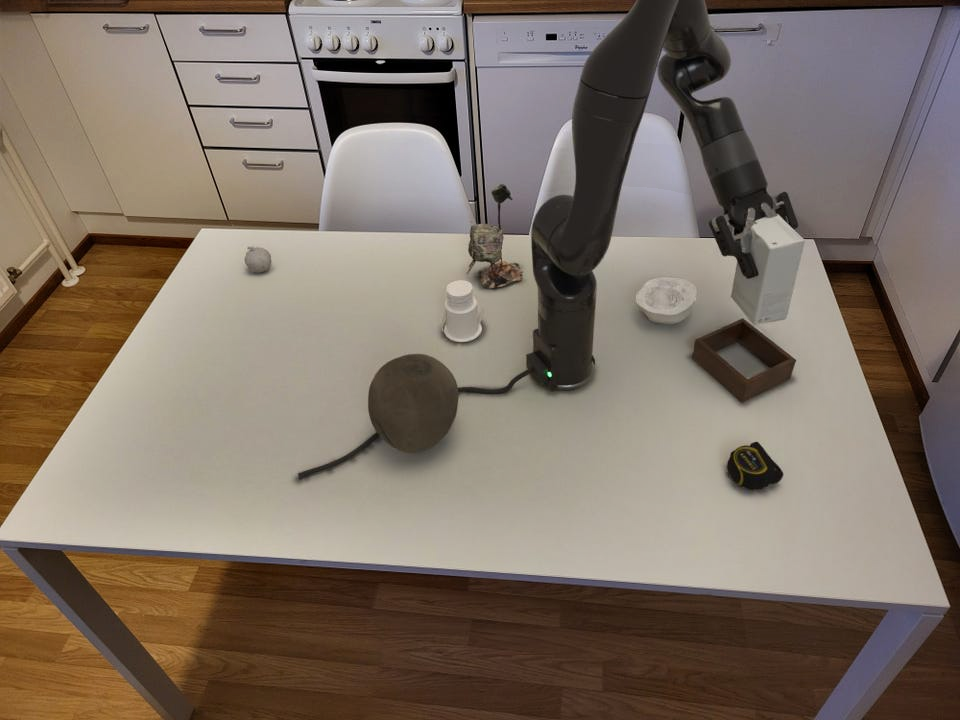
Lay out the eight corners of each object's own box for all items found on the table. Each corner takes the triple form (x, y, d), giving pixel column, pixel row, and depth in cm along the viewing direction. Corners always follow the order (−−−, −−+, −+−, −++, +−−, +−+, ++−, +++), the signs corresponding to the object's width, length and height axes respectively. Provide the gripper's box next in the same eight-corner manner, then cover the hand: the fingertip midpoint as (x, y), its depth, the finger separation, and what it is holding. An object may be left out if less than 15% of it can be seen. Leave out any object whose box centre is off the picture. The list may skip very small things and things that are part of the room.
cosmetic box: (786, 320, 121) (810, 241, 111) (751, 327, 121) (771, 249, 110) (760, 288, 127) (780, 211, 117) (726, 295, 126) (743, 217, 116)
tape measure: (781, 486, 114) (787, 470, 111) (741, 499, 113) (745, 484, 110) (756, 453, 119) (761, 437, 116) (716, 465, 117) (720, 449, 115)
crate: (741, 403, 126) (747, 383, 123) (691, 358, 135) (695, 339, 132) (790, 379, 130) (796, 359, 127) (738, 337, 138) (742, 317, 135)
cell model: (707, 316, 143) (713, 287, 138) (659, 342, 138) (664, 313, 133) (668, 289, 149) (672, 260, 144) (621, 314, 144) (624, 285, 140)
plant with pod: (468, 265, 158) (461, 179, 144) (523, 264, 157) (521, 177, 143) (466, 290, 152) (458, 202, 138) (523, 289, 151) (521, 201, 138)
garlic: (241, 268, 161) (235, 247, 158) (264, 257, 164) (258, 236, 160) (256, 280, 158) (250, 259, 155) (279, 268, 161) (273, 248, 157)
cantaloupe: (468, 460, 121) (462, 394, 110) (378, 475, 119) (363, 409, 109) (455, 397, 131) (448, 330, 121) (372, 410, 130) (358, 344, 119)
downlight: (477, 314, 147) (474, 271, 140) (489, 337, 142) (487, 294, 135) (437, 324, 145) (432, 282, 138) (448, 347, 140) (443, 305, 133)
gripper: (710, 173, 111) (751, 280, 112) (785, 146, 116) (824, 249, 116) (681, 189, 118) (720, 289, 119) (753, 163, 123) (790, 260, 123)
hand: (771, 269), depth 118 cm, fingers closed on cosmetic box, 7 cm apart
